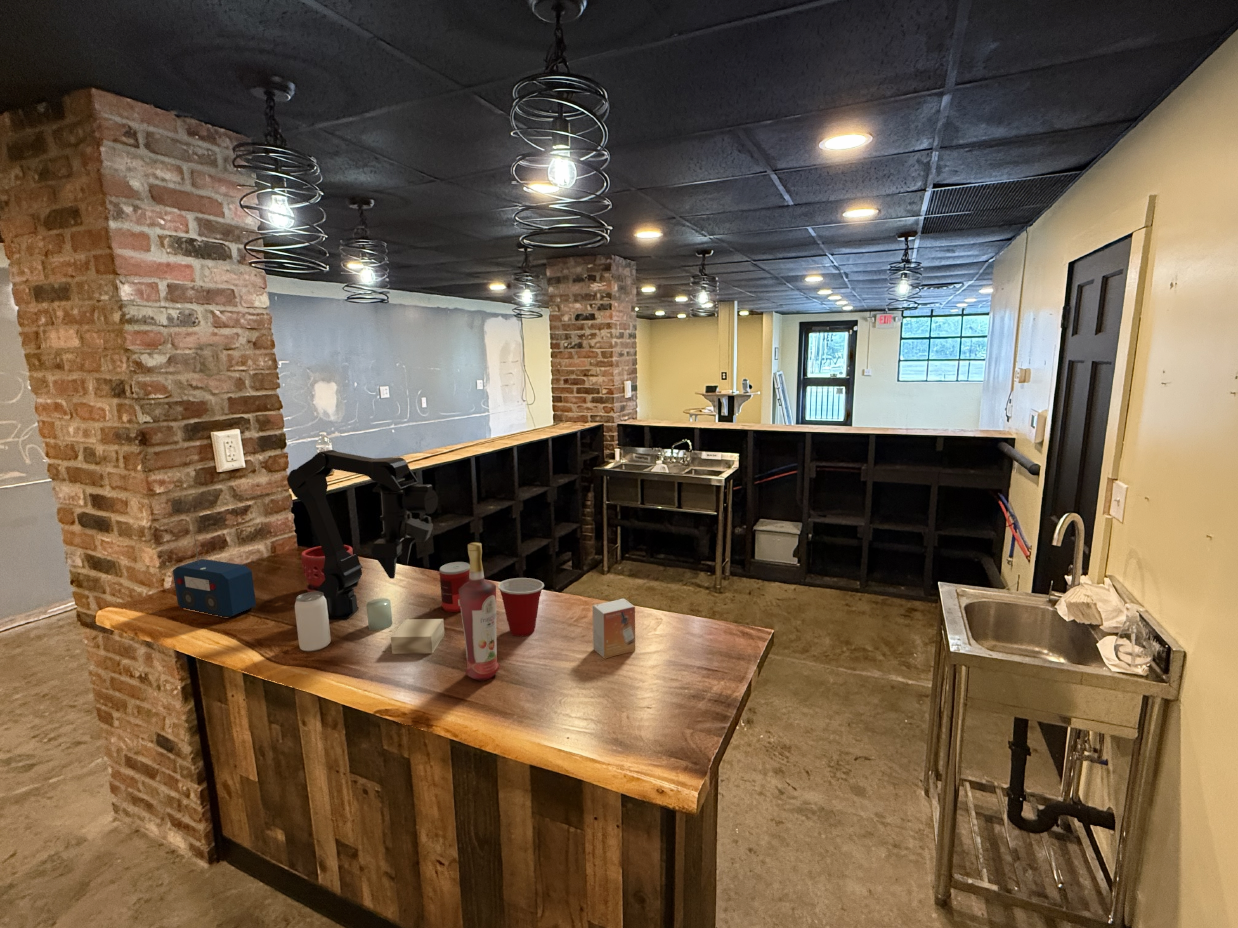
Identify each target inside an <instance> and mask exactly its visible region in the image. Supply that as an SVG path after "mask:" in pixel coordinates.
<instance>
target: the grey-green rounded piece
mask: <svg viewBox="0 0 1238 928" xmlns="http://www.w3.org/2000/svg"><path fill="white" fill-rule="evenodd" d="M365 605H366V606H365V607H366V613H367V615H366V616H367V624H368V625H367V626H368V630H371V631H376V632H377V631H384V630H387V629H389V628H391V627H392V626H393V616H392V615H393V614H392V606H391V605H392V604H391V599H389V598H384V597H382V598H375V599H372V600H369V601H368V602H367V603H366V604H365Z"/></svg>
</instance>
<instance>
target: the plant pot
mask: <svg viewBox="0 0 1238 928" xmlns="http://www.w3.org/2000/svg"><path fill="white" fill-rule="evenodd" d="M344 547H345V549H346V551H347V552H349V553H350V554H351V555H354V551H353V547H352V546H350V545H346V544H344ZM300 558H301V567H302V571H303V575H304V577H305V580H306V582H307V583H308V584H307V586H306V588H305V589H306V591H307V593H308V592H318V591H317V588H318V587H319V586H320V585H321V584H322V583H323V582H324V580H325V576H324V572H323V568H324V562H325V556H324V553H323V550H322V548H321V545H320V546H315V547H311V548H308V549H305V550H303V551H302V552H301V557H300Z"/></svg>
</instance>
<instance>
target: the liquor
mask: <svg viewBox="0 0 1238 928" xmlns="http://www.w3.org/2000/svg"><path fill="white" fill-rule="evenodd" d="M482 545H483V544H482V543H481V542H470V543H468V544H467V553H468V557H469V565H470V575H469V582H467V583H465V584H464V585H463V586H461V587H460V588H459V598H460V607H461V611H460V614H461V615H460V616H461V621H462V628H463V636H464V645H465V654H466V655H465V657H466V664H467V666H466V668H465V675H466V676H468V677H469V678H471V679H473V680H475V681H486V680H489V679H491V678H493V677H494V675H496V674H497V672H498V671H499V670H500V668H501V667H500V664H499V663H498V657H497V656H498V655H497V654H498V652H497V650H498V649H497V648H498V647H497V585H496V584H495V583H493V582H492V581H490V580H488V579H485V575H484V568H483V562H482V555H483V549H482Z"/></svg>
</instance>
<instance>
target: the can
mask: <svg viewBox="0 0 1238 928" xmlns="http://www.w3.org/2000/svg"><path fill="white" fill-rule="evenodd" d="M323 595H324V594H323V593H322V592H308V591H307V592H305V593H301V594H299V595H298V596H296V598H295V603H294V612H295V613H294V614H295V622H296V630H297V637H298V644H299V649H300V650H301V651H303V652H315V651H316V652H317V651H319V650H322V649H324V648H327V647H328V646H329V644H330V643H331V641H332V640H331V631H330V630H331V629H330V619H328V610H327V602H326V599H325V597H324V596H323Z"/></svg>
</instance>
